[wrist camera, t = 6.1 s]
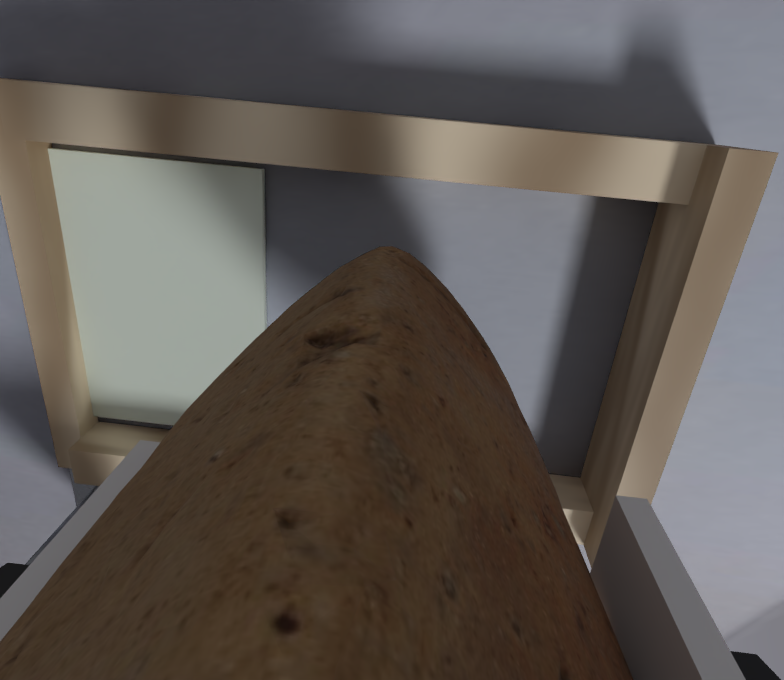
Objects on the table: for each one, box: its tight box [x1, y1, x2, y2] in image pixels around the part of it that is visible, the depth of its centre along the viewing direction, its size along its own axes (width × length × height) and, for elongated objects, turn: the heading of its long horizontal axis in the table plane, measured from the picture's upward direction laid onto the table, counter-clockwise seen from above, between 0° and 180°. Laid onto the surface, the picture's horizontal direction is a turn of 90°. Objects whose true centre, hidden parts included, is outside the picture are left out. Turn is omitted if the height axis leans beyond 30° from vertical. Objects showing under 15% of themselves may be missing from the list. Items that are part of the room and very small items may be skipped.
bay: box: [0, 78, 778, 568], centre depth 22 cm, size 28×18×4 cm, turn 85°
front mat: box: [48, 148, 267, 426], centre depth 24 cm, size 9×13×1 cm
